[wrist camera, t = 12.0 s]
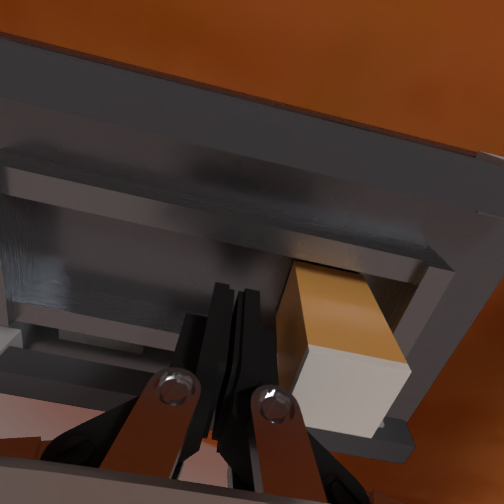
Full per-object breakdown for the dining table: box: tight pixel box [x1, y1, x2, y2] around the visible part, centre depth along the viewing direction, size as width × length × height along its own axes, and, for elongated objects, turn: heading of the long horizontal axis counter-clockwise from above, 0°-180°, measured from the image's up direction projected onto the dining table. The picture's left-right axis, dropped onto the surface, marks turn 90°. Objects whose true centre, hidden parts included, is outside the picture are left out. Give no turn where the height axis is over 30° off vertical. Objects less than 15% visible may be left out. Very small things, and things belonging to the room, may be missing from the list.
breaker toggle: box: [276, 260, 412, 438], centre depth 13 cm, size 3×3×5 cm
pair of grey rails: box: [0, 39, 504, 464], centre depth 14 cm, size 22×14×2 cm, turn 77°
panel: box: [0, 32, 504, 423], centre depth 15 cm, size 24×14×5 cm, turn 77°
